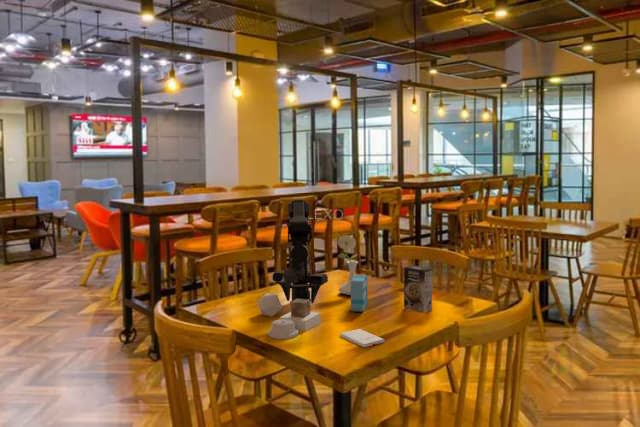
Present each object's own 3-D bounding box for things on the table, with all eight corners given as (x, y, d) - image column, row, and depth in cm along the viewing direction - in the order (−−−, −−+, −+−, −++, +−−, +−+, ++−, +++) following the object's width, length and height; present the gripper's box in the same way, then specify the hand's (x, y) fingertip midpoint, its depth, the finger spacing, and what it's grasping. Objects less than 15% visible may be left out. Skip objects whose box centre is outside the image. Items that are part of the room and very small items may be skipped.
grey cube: (291, 316, 188) (290, 302, 188) (297, 312, 193) (296, 298, 192) (304, 317, 186) (304, 303, 186) (310, 313, 191) (310, 299, 191)
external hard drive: (360, 333, 182) (384, 343, 172) (340, 338, 178) (363, 348, 167) (360, 328, 182) (384, 338, 172) (340, 333, 177) (363, 343, 167)
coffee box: (403, 308, 209) (403, 267, 207) (412, 305, 213) (412, 264, 212) (423, 313, 202) (424, 270, 201) (433, 309, 207) (433, 267, 205)
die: (286, 316, 203) (280, 292, 208) (278, 310, 196) (272, 285, 200) (266, 323, 205) (261, 299, 209) (257, 317, 197) (252, 293, 202)
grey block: (280, 328, 188) (280, 316, 188) (295, 320, 197) (295, 309, 196) (305, 332, 183) (305, 320, 183) (320, 324, 192) (319, 313, 192)
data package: (362, 313, 204) (362, 281, 202) (350, 312, 205) (350, 280, 203) (367, 304, 215) (367, 274, 214) (356, 304, 216) (356, 274, 215)
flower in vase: (370, 292, 234) (370, 234, 231) (357, 298, 224) (357, 238, 222) (344, 289, 241) (343, 232, 238) (330, 294, 231) (329, 235, 229)
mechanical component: (262, 336, 179) (287, 341, 174) (261, 323, 178) (286, 328, 173) (279, 328, 187) (304, 333, 182) (279, 315, 187) (304, 320, 182)
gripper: (263, 259, 184) (265, 305, 186) (314, 263, 176) (315, 310, 178) (279, 254, 194) (280, 297, 196) (328, 257, 187) (328, 302, 188)
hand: (300, 301), depth 189 cm, fingers open, 9 cm apart
